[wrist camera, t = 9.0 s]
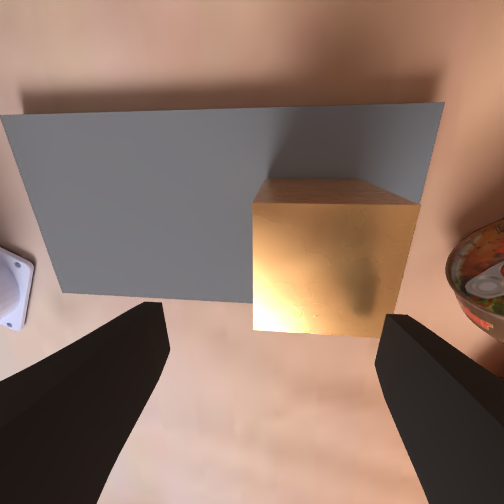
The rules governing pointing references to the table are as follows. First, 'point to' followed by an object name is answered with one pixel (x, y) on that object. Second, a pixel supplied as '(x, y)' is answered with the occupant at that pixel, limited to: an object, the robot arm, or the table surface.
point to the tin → (480, 278)
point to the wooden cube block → (328, 255)
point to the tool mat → (195, 185)
